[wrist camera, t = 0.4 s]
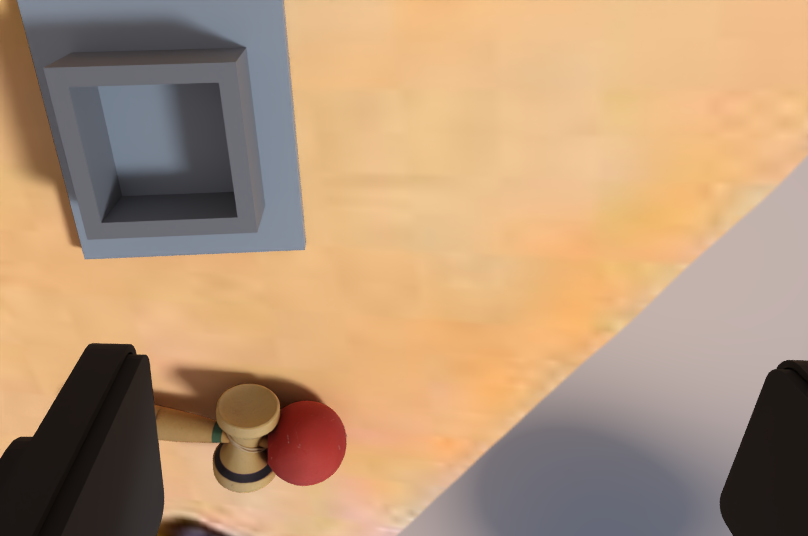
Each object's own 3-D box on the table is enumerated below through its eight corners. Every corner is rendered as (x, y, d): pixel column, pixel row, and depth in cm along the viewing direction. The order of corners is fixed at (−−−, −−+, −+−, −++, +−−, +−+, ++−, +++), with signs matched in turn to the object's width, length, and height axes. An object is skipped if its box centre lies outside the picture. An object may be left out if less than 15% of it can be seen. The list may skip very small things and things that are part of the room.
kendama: (118, 437, 55) (344, 473, 55) (78, 484, 49) (332, 524, 49) (121, 347, 52) (357, 384, 52) (79, 384, 46) (346, 427, 46)
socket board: (24, -11, 38) (-21, 1, 33) (282, -18, 39) (272, -6, 34) (90, 250, 46) (61, 290, 41) (305, 241, 46) (300, 279, 42)
